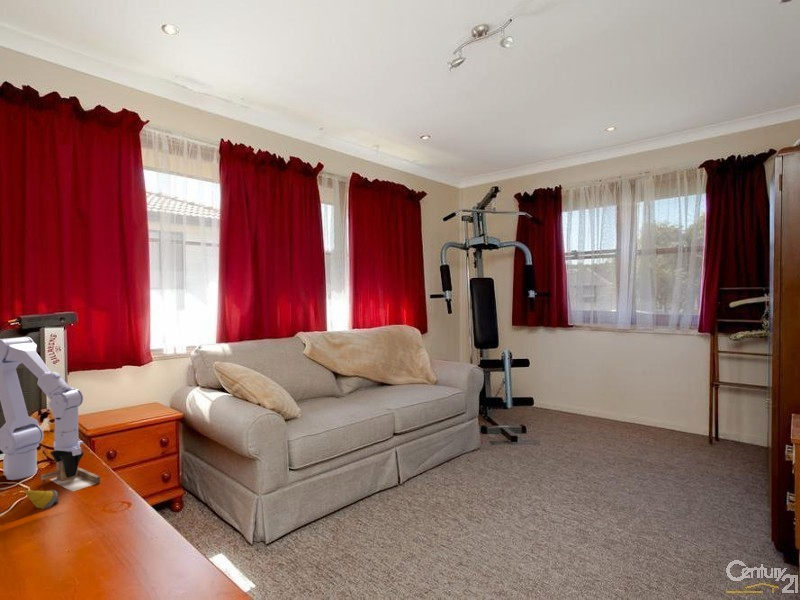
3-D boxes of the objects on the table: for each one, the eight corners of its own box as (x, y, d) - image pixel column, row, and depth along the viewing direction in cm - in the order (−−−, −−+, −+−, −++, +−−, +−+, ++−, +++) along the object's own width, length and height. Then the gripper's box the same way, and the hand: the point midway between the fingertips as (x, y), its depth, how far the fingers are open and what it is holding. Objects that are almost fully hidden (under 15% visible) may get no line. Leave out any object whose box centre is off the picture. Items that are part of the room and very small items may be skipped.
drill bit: (62, 510, 115) (29, 495, 109) (44, 519, 116) (10, 504, 109) (69, 491, 120) (37, 476, 113) (51, 500, 120) (18, 485, 113)
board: (49, 483, 132) (49, 473, 132) (76, 475, 138) (76, 466, 138) (72, 495, 123) (72, 485, 123) (100, 486, 129) (100, 476, 129)
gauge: (39, 483, 129) (39, 466, 129) (72, 474, 136) (71, 458, 136) (44, 486, 127) (44, 469, 127) (77, 476, 134) (77, 460, 134)
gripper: (92, 430, 133) (93, 474, 133) (71, 423, 141) (72, 465, 140) (65, 436, 127) (65, 483, 127) (44, 429, 135) (45, 473, 135)
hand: (67, 474), depth 133 cm, fingers open, 5 cm apart
